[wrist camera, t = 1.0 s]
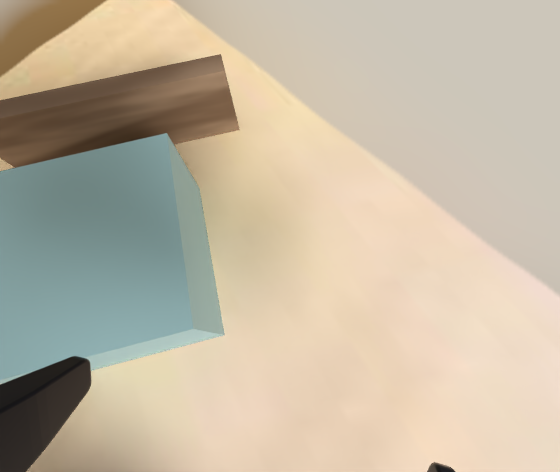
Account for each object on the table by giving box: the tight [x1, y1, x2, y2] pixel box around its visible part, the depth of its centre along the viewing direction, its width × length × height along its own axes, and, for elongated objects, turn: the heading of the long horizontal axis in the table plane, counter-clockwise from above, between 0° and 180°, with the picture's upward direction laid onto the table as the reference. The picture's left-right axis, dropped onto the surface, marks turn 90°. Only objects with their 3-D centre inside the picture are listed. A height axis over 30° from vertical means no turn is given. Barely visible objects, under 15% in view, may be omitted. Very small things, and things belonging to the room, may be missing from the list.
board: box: [0, 54, 239, 168], centre depth 27 cm, size 2×22×7 cm, turn 104°
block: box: [0, 133, 224, 384], centre depth 22 cm, size 14×12×8 cm
